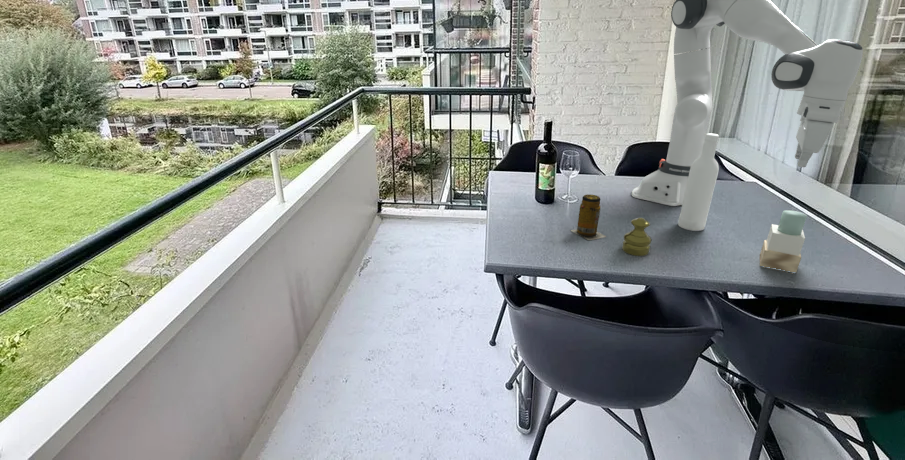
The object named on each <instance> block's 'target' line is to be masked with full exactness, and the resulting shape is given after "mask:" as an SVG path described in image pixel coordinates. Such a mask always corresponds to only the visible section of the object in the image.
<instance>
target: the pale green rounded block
mask: <svg viewBox="0 0 905 460" xmlns="http://www.w3.org/2000/svg"><path fill="white" fill-rule="evenodd" d="M807 217H808V215H807V214H806V213H804V212H801V211H796V210H791V209H790V210H789V209H788V210H786V209H785V210H783V211H782V213H781V217H780V220H779V223H778V224H777V225H778V229H777V230H778V231H780V232H782V233H785V234H788V235H801V233H802V230H803V229H804V226H805V223H806V220H807ZM803 231H804V230H803Z"/></svg>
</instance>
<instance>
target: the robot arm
mask: <svg viewBox="0 0 905 460" xmlns="http://www.w3.org/2000/svg"><path fill="white" fill-rule="evenodd" d="M670 13H671V14H670V15H671V16H670V17H671V21H672V24H673V25H674V27H675V30H674V31H675V32H674V39H673V61H674V62H673V64H674V69H673V70H674V81H675V82H674V83H675V89H676V98H677V99H676V100H677V104H676V106H675V109H674V114H673V120H672V126H671V132H670V140H669V144H668V149H667V155H666V159H664V158H661V159H660V160H659V163H658V165H659V166H658V169H657V170H655V171H653V172H651V173H649V174H648V175H646V176H644V177H643V178H642V179H641V181H640V182H639V183H640V184H639V185H638V186H637V187H634V188H633V189H632V190H631V196H632V197H633V198H635V199H640V200H645V201H648V202H653V203H657V204H661V205H666V206H669V207H676V206H677V207H678V206H682V204H683V199H684V195H685V190H686V186H687V181H688V177H689V172H690V167H691V165H692V164H693V162H694V161H695V160H696V159H697V158H699V157H700V156H701V153H702V148H703V144H704V138H705V135H706V134H707V131H708V126H709V121H710V116H711V114H712V109H713V89H712V87H713V86H712V68H711V67H712V65H711V64H712V61H711V59H712V58H711V55H712V54H711V32H712V30H713V28H714V27H716V26H717V27H722V26H723V25H725V26H726V27H727V28H728V29H729V30H730V31H731V32H732V33H734V34H735V35H736V36H738V37H740V38H741V39H743V40H749V41H755V42H759V43H764V44H768V45H771V46H772V47H775V48H777V49H778V50H780V51H781V52H782V53H783V55H782V56H781V57H780V58H778V59H777V60H776V62H775V64H773V67H772V70H771V81H772V84H773V85H774V86H775V87H776V88H777V89H780V90H783V91H787V92H789V91H790V92H792V91H793V92H794V91H795V92H803V95H802V98H801V100H800V104H799V106H798V108H797V111H796V114H797V115H799V116H801V117H800V120H799V121H800V125H799V126H798V129H797V132H796V135H795V136H796V137H795V138H796V141H797V145H796V146H797V148H796V152H795V154H794V158H795V159H796V160H797V161H798V162H797V167H800V168H807V166H808V163H809V161H810V159H811V158H812V156H813V154H819V153H820V151H821V150H822V149H823V147H824V145H825V143H826V141H827V139H828V138H829V135H830V133H831V131H832V129H833V127H834V124H836V123H838V122H839V120H840V117H841V115H842V112H843V110H844V108H845V106H846V102H847V100H848V94H849V90H850V88H851V87H852V85H853V84H854V82H855V80H856V79H857V78H856V77H857V75H858V73H859V70H860V68H861V63H862V60H863V55H864V49H863V47H862V45H861V44H859V43H858V42H854V41H851V40H844V39H842V38H841V39H839V38H831V39H827V40H825V41H824V42H823V43H821V44H817V42H815V40H813V39H812V38H811V37H810V36H809V35H808V34H807V33H805V31H803V30H802V29H801V28H800V27H799V26H798V25H796V24H795V23H794V22H792V21H791V20H790V19H789V18H788V16H786V15H785V14H784V13H783V12H782V11H781V10H780V9H779V8H778V7H777V6H776V5H775V3H773V1H771V0H675V1H674V3H673V4H672V7H671V12H670Z"/></svg>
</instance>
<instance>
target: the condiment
mask: <svg viewBox="0 0 905 460" xmlns="http://www.w3.org/2000/svg"><path fill="white" fill-rule="evenodd" d="M600 204H601V197H600V196H599V195H596V194H584V195H583V196H582V200H581V203H580V205H579V211H578V219H577V226H576V227H577V228H576V229H571V230H569V231H571V232H572V233H573V234H575V235H577V236H579V237H581V238H583V239H585V240H587V241H592V240H594V241H595V240H598V239H604V238H607V236H606V235H604V234H603V233H601V232H599V231H598V227H599V220H600V214H601V205H600Z"/></svg>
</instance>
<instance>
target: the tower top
mask: <svg viewBox="0 0 905 460" xmlns="http://www.w3.org/2000/svg"><path fill="white" fill-rule="evenodd" d="M778 225H779V224H773V223H771V225H770V228H769V231H768V235H767V238H766V240H767V250H771V251H776V252H781V253H786V254H791V255H796V256H799V255H800V253H801V252H802V249H803V246H804V244H805V240H806V237H805V232H804V230H802V233H801V235H788V234H785V233H782V232H780V231H778V230H777V229H778Z"/></svg>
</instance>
